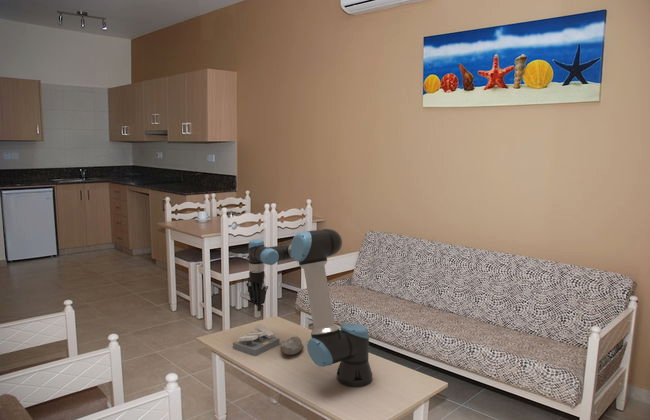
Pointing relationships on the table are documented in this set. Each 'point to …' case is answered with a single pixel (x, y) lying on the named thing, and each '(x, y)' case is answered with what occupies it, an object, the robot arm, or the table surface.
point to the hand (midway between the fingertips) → (257, 316)
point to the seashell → (291, 346)
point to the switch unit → (256, 345)
